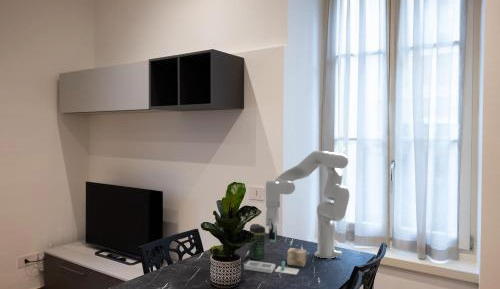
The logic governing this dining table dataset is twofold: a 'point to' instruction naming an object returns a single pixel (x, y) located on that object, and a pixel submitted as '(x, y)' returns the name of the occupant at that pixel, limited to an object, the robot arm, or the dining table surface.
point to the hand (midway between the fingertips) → (272, 238)
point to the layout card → (286, 269)
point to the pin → (275, 234)
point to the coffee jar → (257, 242)
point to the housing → (296, 257)
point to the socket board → (259, 266)
